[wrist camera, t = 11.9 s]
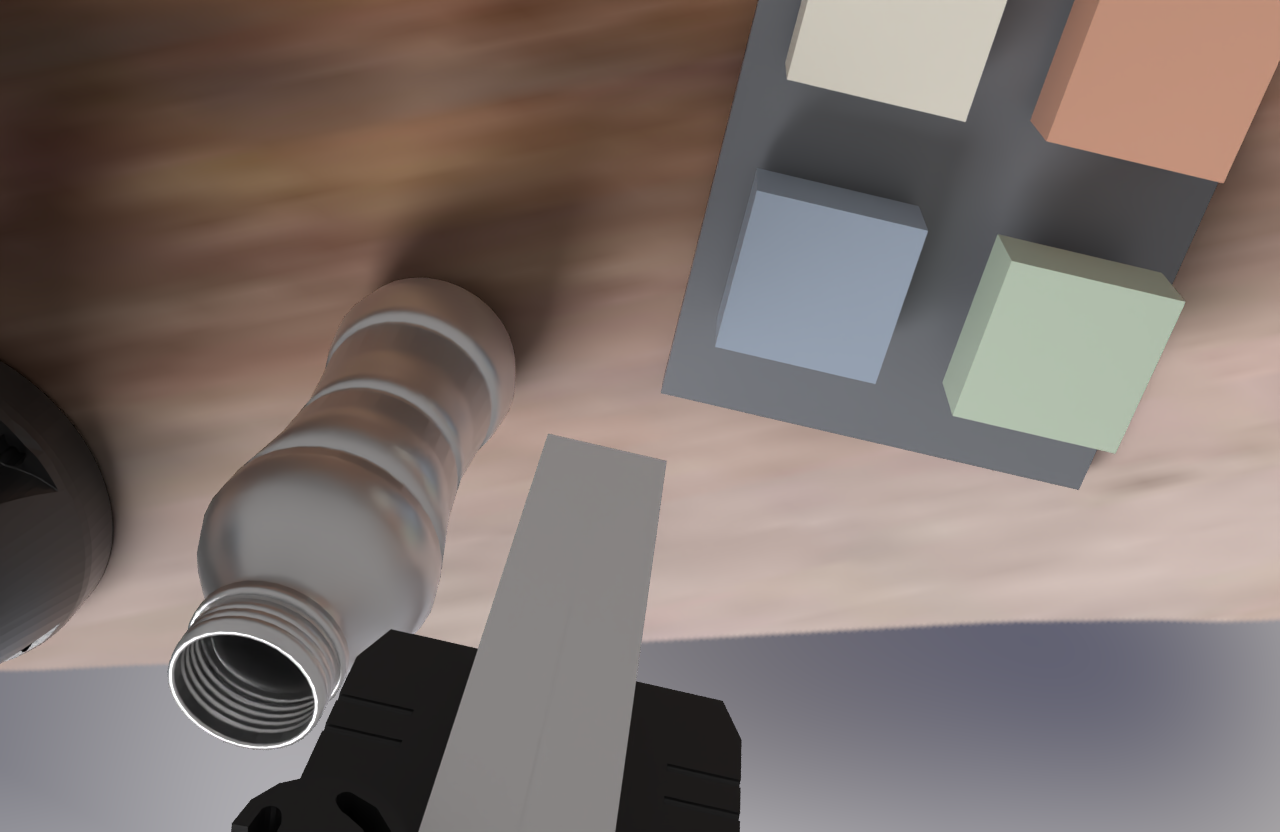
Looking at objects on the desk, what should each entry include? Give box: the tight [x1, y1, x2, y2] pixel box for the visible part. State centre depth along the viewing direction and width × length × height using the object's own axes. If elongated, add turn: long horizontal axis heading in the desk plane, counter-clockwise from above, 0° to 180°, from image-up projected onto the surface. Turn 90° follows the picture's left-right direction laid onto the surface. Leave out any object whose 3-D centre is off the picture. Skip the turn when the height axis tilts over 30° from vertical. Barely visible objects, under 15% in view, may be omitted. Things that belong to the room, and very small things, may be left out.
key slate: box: [715, 168, 928, 384], centre depth 40 cm, size 6×6×2 cm
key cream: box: [785, 0, 1007, 122], centre depth 36 cm, size 6×6×2 cm
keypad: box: [661, 0, 1218, 490], centre depth 40 cm, size 16×22×3 cm
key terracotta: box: [1030, 0, 1280, 183], centre depth 36 cm, size 6×6×2 cm
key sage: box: [942, 234, 1185, 453], centre depth 40 cm, size 6×6×2 cm
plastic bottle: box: [167, 278, 515, 750], centre depth 37 cm, size 6×7×20 cm
